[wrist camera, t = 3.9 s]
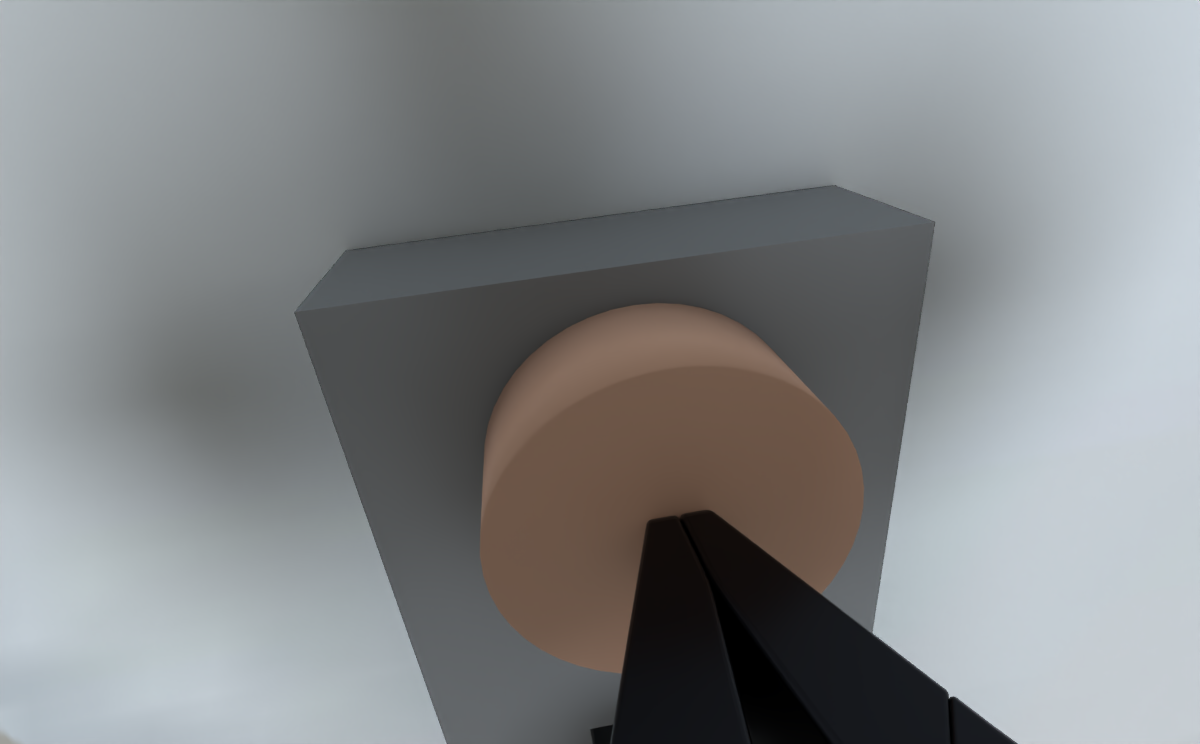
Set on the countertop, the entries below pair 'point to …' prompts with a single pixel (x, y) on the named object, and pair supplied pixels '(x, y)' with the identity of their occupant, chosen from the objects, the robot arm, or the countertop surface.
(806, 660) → the robot arm
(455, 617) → the knob strip
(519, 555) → the knob
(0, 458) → the countertop surface
